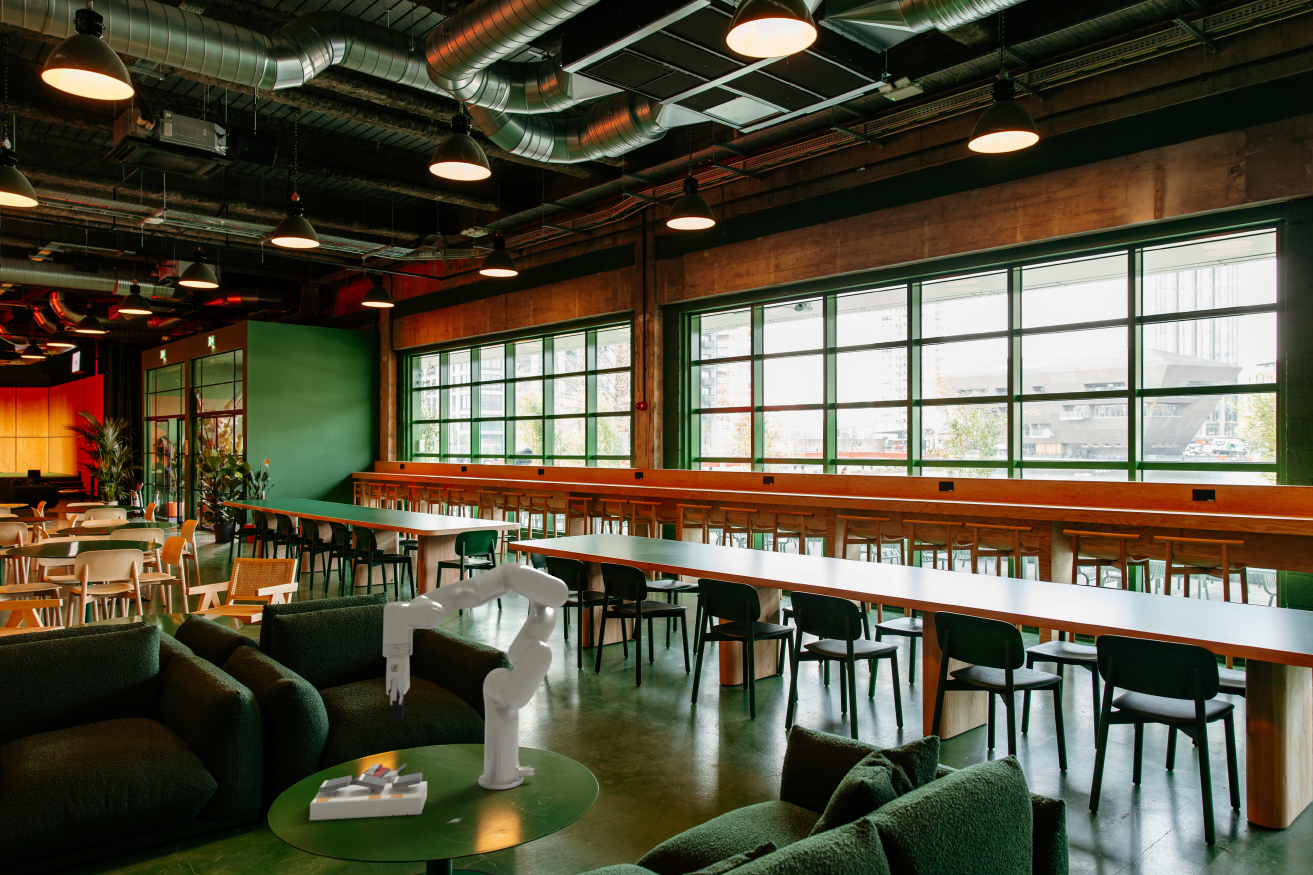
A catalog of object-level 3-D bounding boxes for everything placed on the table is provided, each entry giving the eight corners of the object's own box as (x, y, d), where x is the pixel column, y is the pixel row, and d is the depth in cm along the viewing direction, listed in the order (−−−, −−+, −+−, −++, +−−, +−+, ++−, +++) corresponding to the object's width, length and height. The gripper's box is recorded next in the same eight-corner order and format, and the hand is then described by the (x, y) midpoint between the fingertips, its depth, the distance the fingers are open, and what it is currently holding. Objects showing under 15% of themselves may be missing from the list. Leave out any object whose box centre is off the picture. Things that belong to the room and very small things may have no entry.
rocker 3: (422, 776, 215) (421, 771, 215) (420, 783, 210) (419, 778, 210) (395, 781, 214) (394, 776, 214) (392, 788, 209) (391, 783, 209)
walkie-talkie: (378, 794, 220) (409, 769, 240) (379, 777, 220) (409, 754, 240) (348, 792, 221) (380, 767, 241) (348, 776, 221) (381, 752, 241)
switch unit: (426, 796, 217) (427, 775, 218) (420, 813, 206) (421, 792, 206) (321, 801, 213) (322, 780, 213) (309, 819, 201) (310, 797, 202)
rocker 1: (352, 779, 212) (351, 774, 212) (348, 786, 207) (347, 780, 207) (324, 785, 211) (323, 780, 211) (319, 792, 206) (319, 787, 206)
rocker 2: (386, 783, 214) (387, 778, 214) (382, 790, 209) (384, 785, 209) (359, 777, 213) (361, 772, 213) (355, 784, 208) (357, 779, 208)
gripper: (408, 654, 207) (406, 726, 206) (415, 643, 222) (414, 710, 221) (378, 655, 206) (376, 728, 205) (387, 644, 221) (386, 712, 220)
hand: (396, 718), depth 213 cm, fingers closed
